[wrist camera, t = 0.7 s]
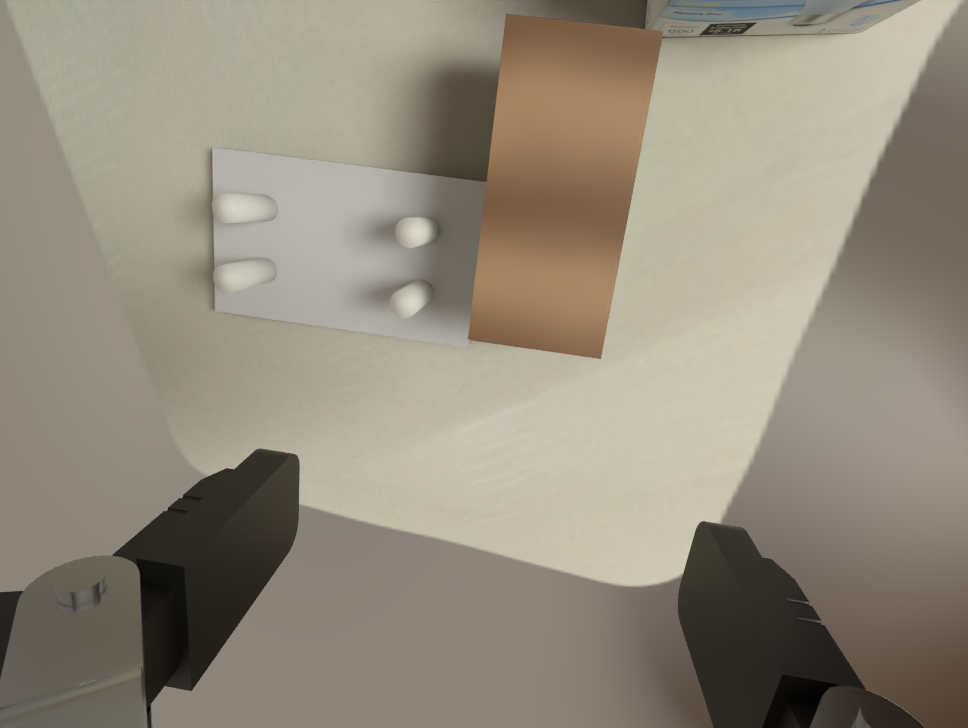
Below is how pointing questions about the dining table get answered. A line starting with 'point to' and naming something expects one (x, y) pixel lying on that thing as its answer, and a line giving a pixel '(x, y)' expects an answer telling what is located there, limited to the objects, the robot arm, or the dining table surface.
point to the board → (560, 181)
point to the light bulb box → (767, 16)
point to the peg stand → (345, 246)
